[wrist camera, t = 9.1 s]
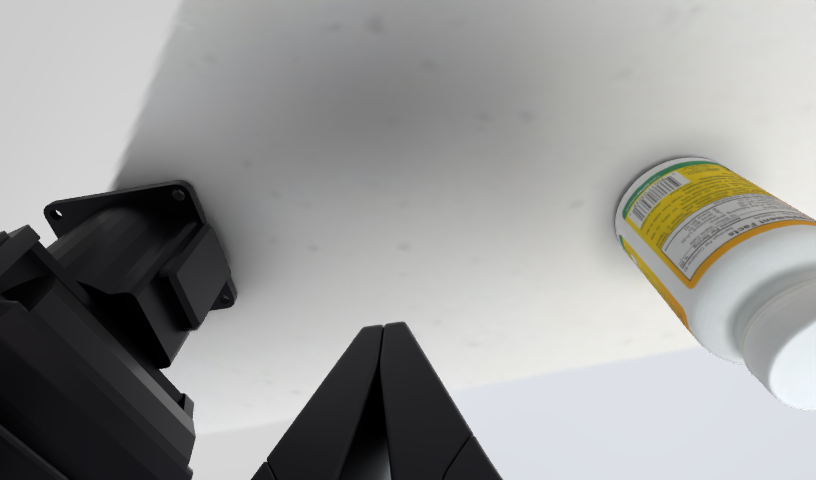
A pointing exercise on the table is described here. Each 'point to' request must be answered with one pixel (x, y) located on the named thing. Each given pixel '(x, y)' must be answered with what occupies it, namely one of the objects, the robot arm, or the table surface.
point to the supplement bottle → (729, 268)
